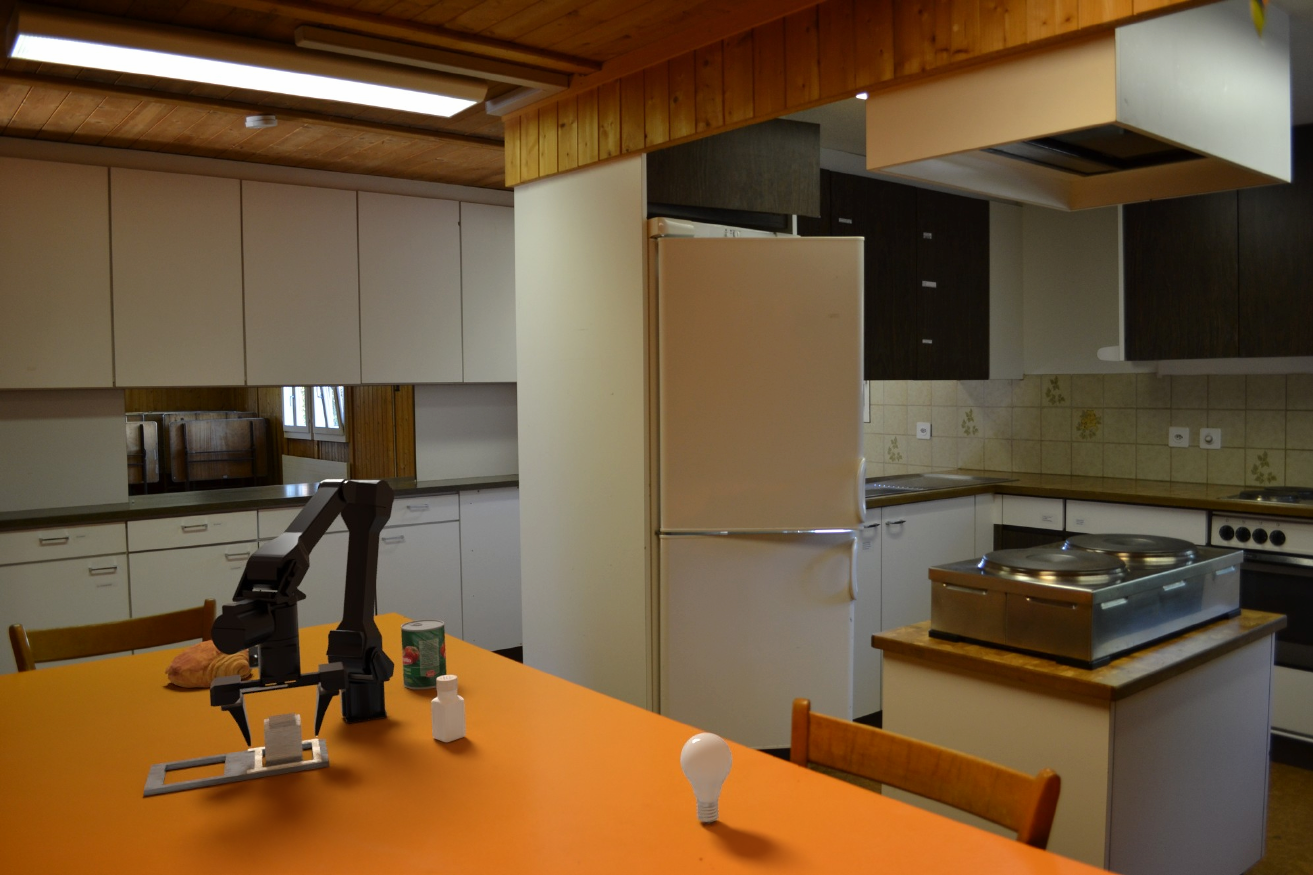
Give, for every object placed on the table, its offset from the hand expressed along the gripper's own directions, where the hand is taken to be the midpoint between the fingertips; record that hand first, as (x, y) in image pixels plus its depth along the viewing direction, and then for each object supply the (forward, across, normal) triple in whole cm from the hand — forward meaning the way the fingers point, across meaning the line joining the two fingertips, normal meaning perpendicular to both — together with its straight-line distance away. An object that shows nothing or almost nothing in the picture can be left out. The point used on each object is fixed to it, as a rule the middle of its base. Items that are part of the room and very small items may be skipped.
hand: (283, 740), depth 145 cm
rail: (+3, +6, 0) cm, 7 cm away
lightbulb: (+3, -48, +45) cm, 66 cm away
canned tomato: (+3, -25, -30) cm, 39 cm away
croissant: (+4, +12, -53) cm, 54 cm away
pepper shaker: (+3, -24, +1) cm, 24 cm away
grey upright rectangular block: (+3, 0, 0) cm, 3 cm away
